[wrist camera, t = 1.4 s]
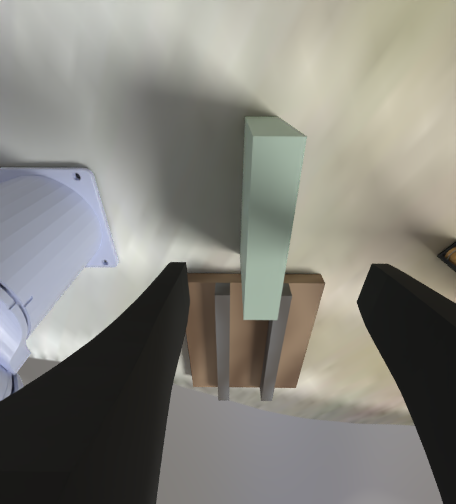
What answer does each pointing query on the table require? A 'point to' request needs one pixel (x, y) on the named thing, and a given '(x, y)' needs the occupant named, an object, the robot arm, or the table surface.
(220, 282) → the track base
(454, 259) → the ammunition clip
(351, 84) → the table surface
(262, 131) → the grey-green rectangular block
